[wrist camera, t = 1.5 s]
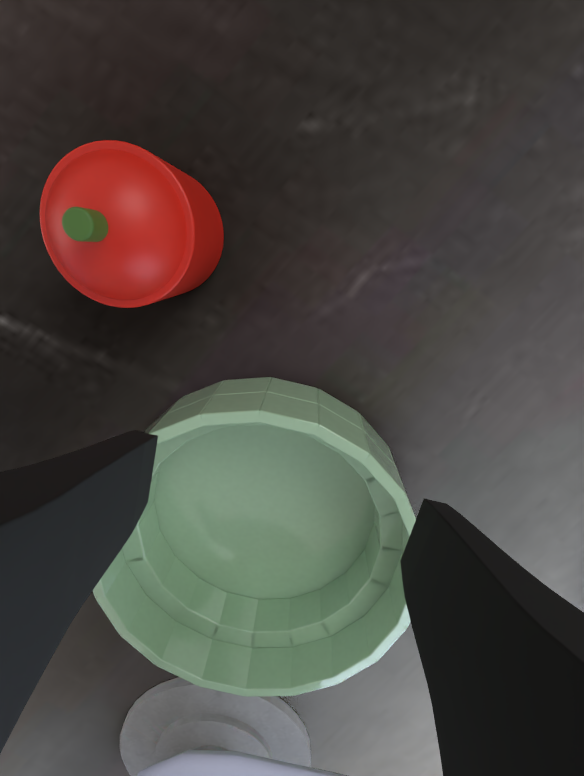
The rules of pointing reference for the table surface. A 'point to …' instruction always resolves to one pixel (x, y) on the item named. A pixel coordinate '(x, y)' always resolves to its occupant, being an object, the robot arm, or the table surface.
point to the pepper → (128, 225)
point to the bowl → (264, 543)
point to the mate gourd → (209, 726)
